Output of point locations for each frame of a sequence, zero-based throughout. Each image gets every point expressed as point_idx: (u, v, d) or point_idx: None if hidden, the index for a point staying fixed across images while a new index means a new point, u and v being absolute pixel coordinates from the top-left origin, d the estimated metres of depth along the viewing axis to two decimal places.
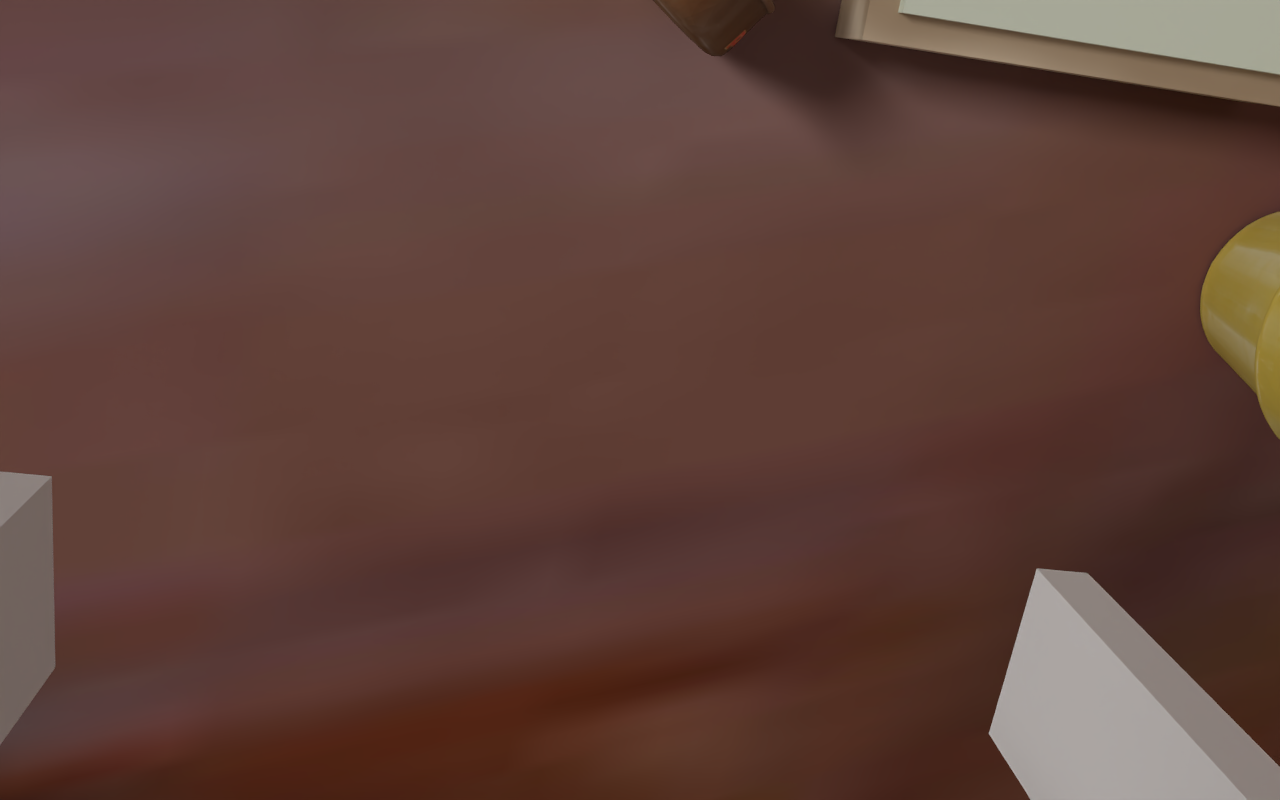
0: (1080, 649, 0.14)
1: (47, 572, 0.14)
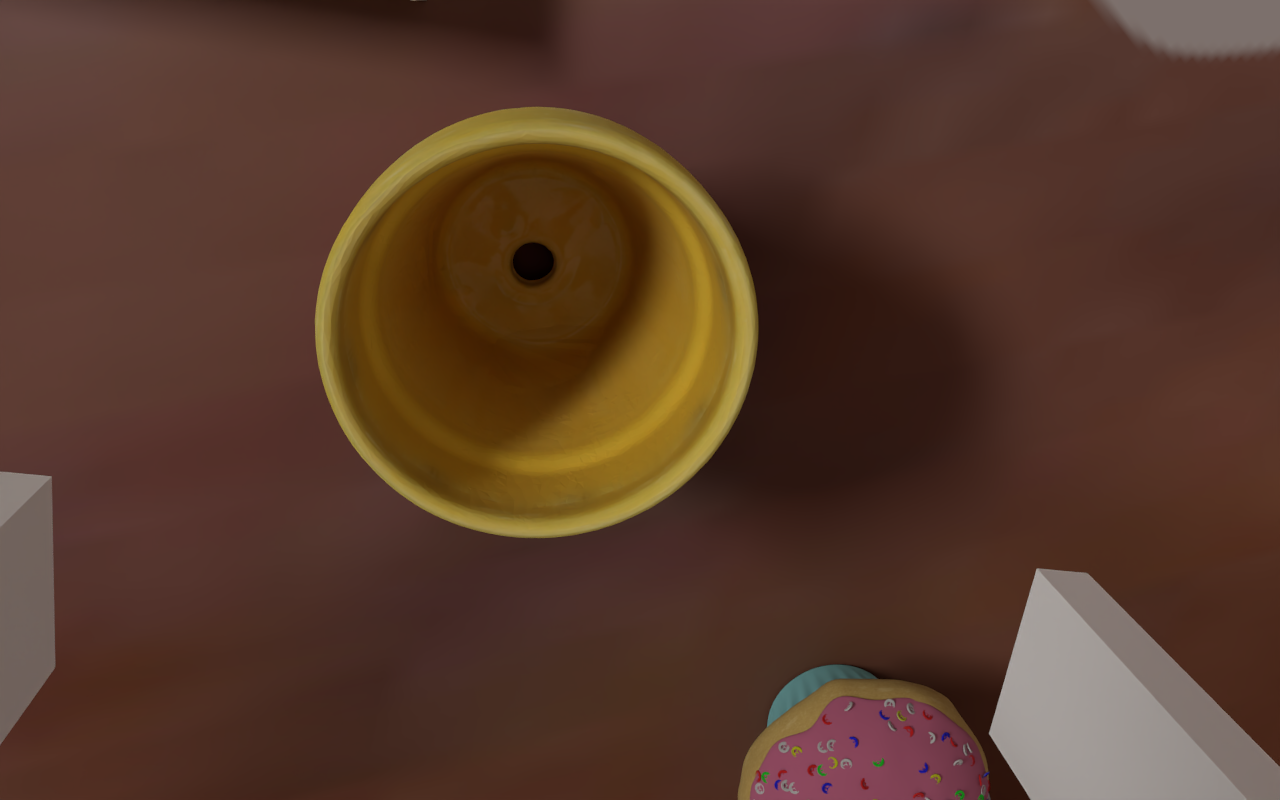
0: (1080, 650, 0.14)
1: (47, 572, 0.14)
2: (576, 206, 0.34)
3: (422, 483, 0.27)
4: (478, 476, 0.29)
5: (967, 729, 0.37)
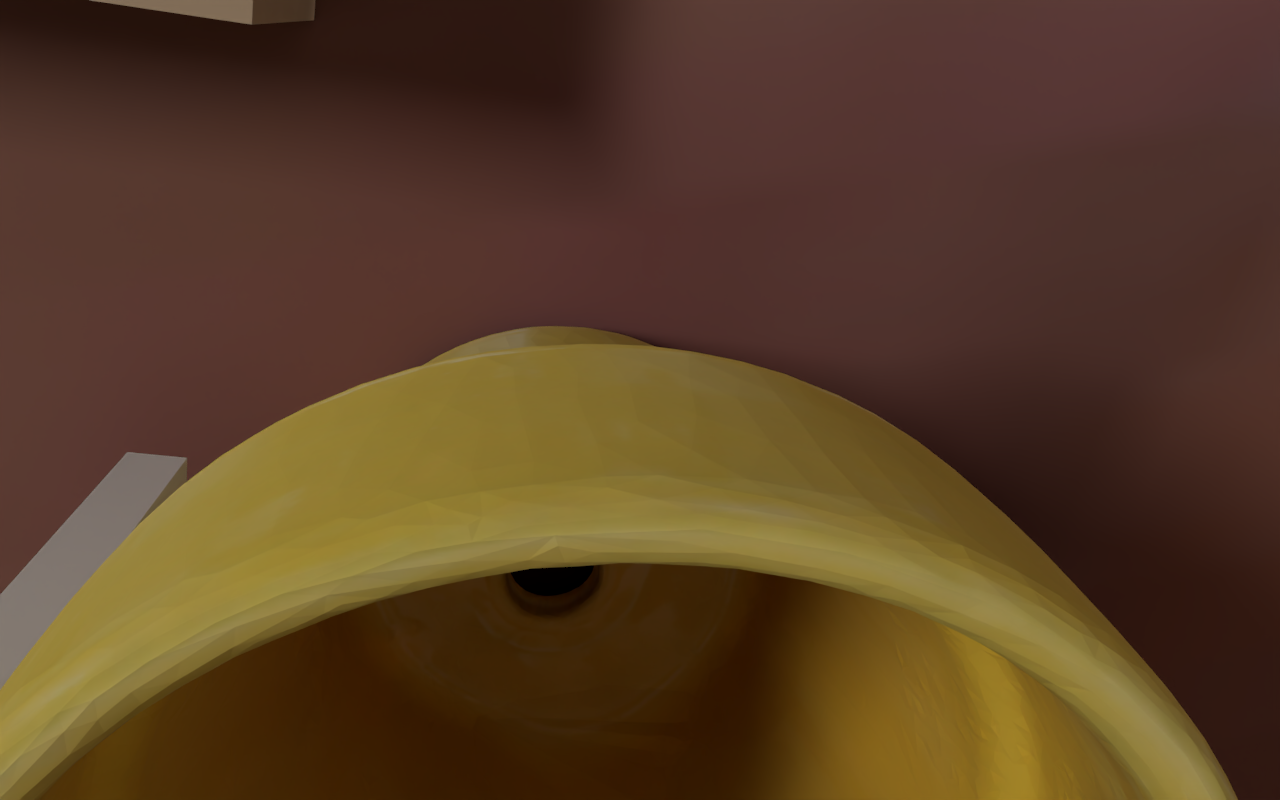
0: None
1: None
2: None
3: None
4: None
5: None
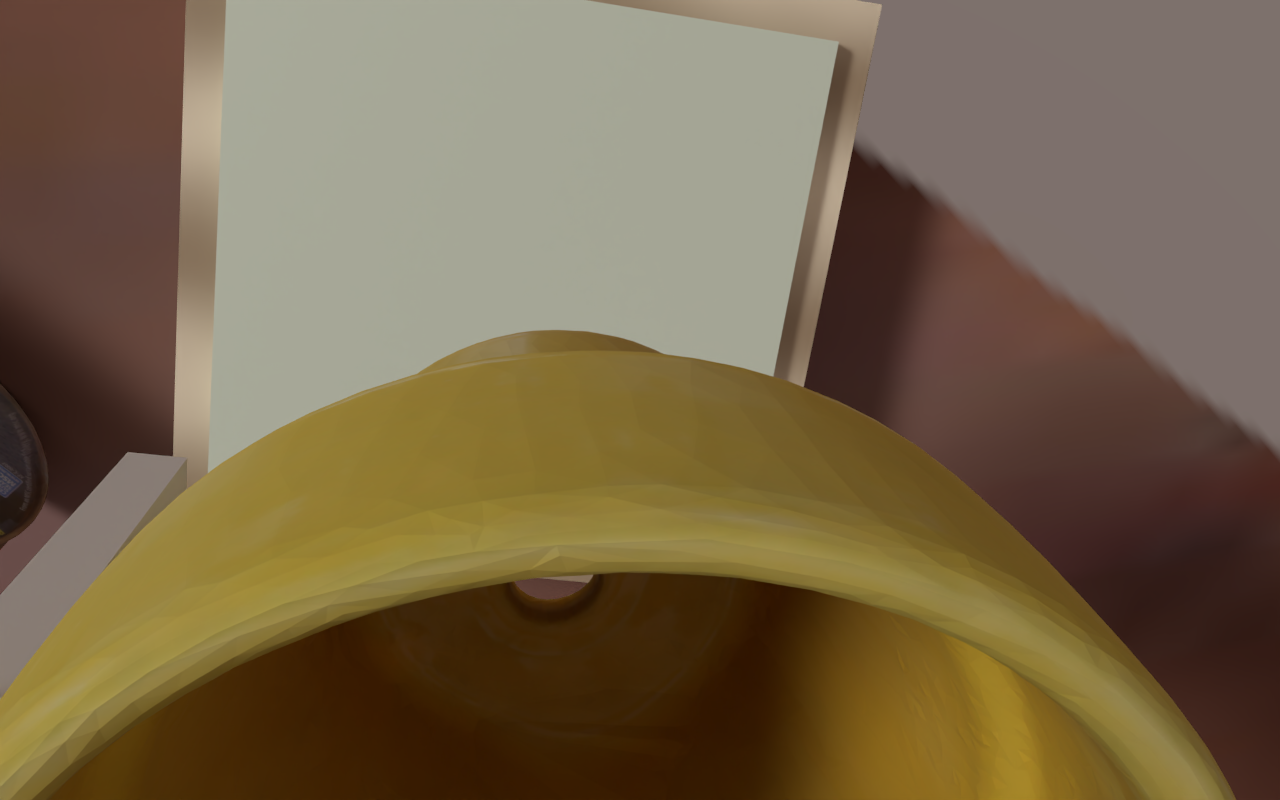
0: None
1: None
2: None
3: None
4: None
5: None
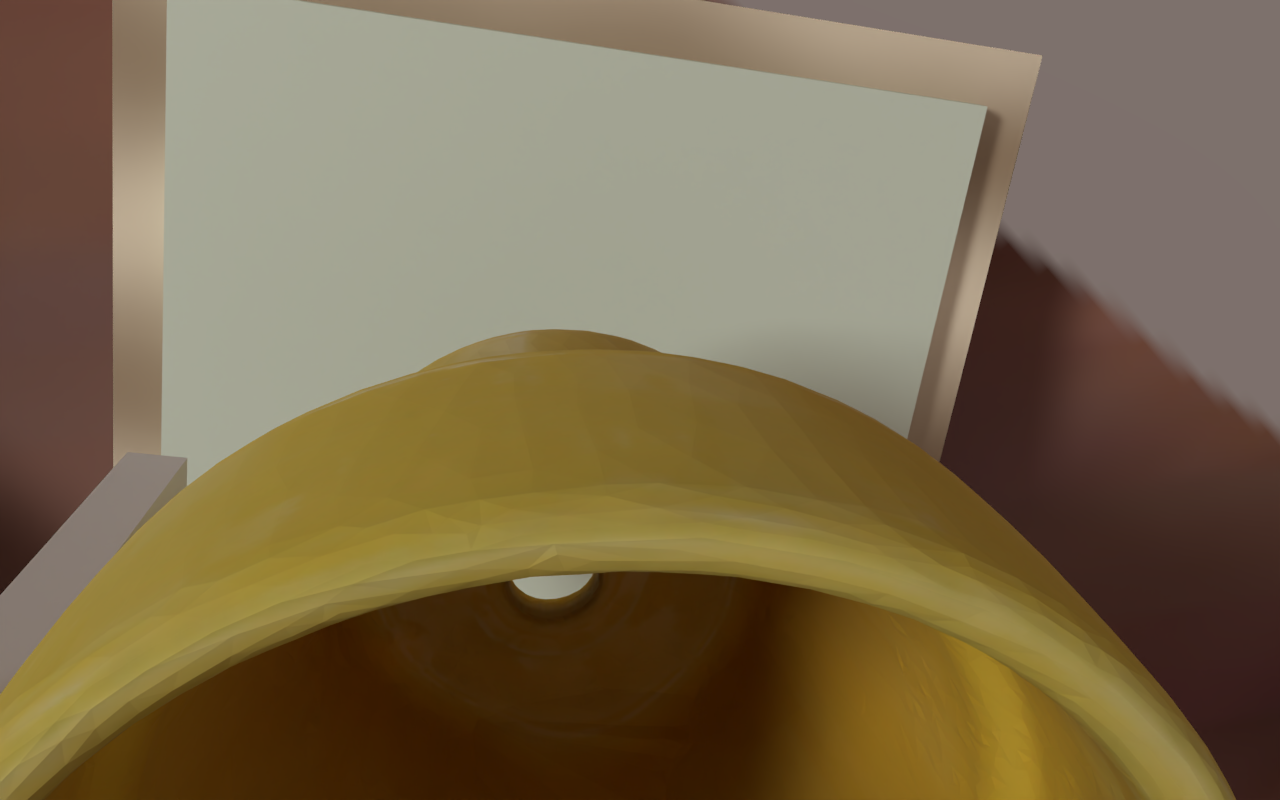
0: None
1: None
2: None
3: None
4: None
5: None
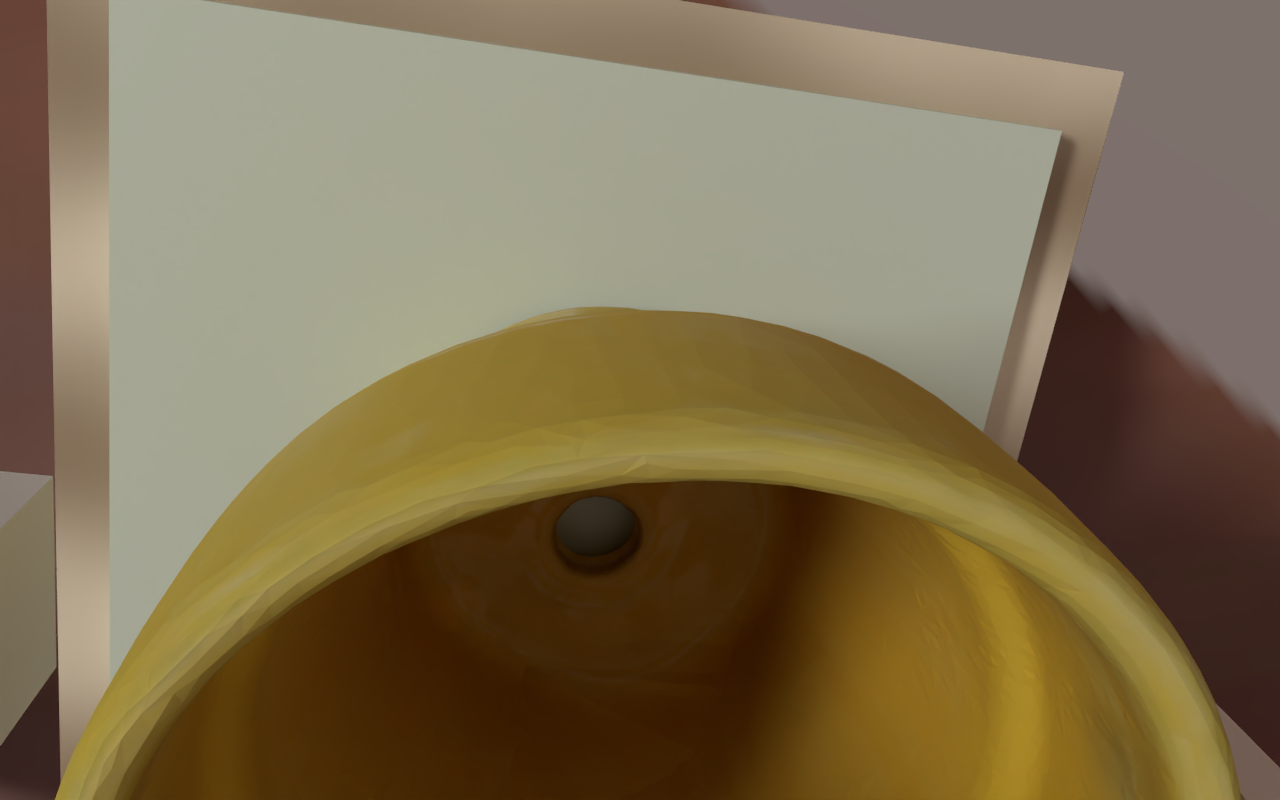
0: None
1: (48, 572, 0.14)
2: None
3: None
4: None
5: None
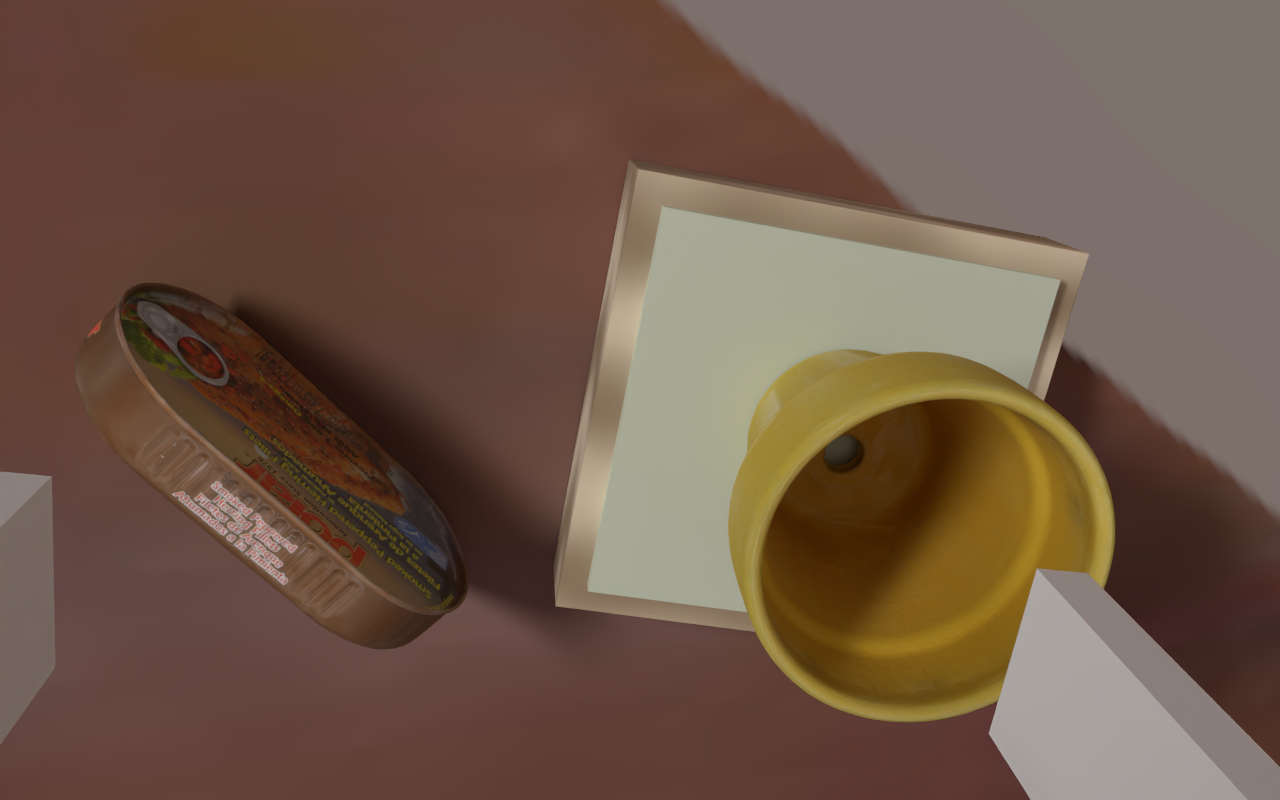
0: (1079, 649, 0.14)
1: (47, 572, 0.14)
2: None
3: (810, 672, 0.32)
4: (837, 659, 0.33)
5: None
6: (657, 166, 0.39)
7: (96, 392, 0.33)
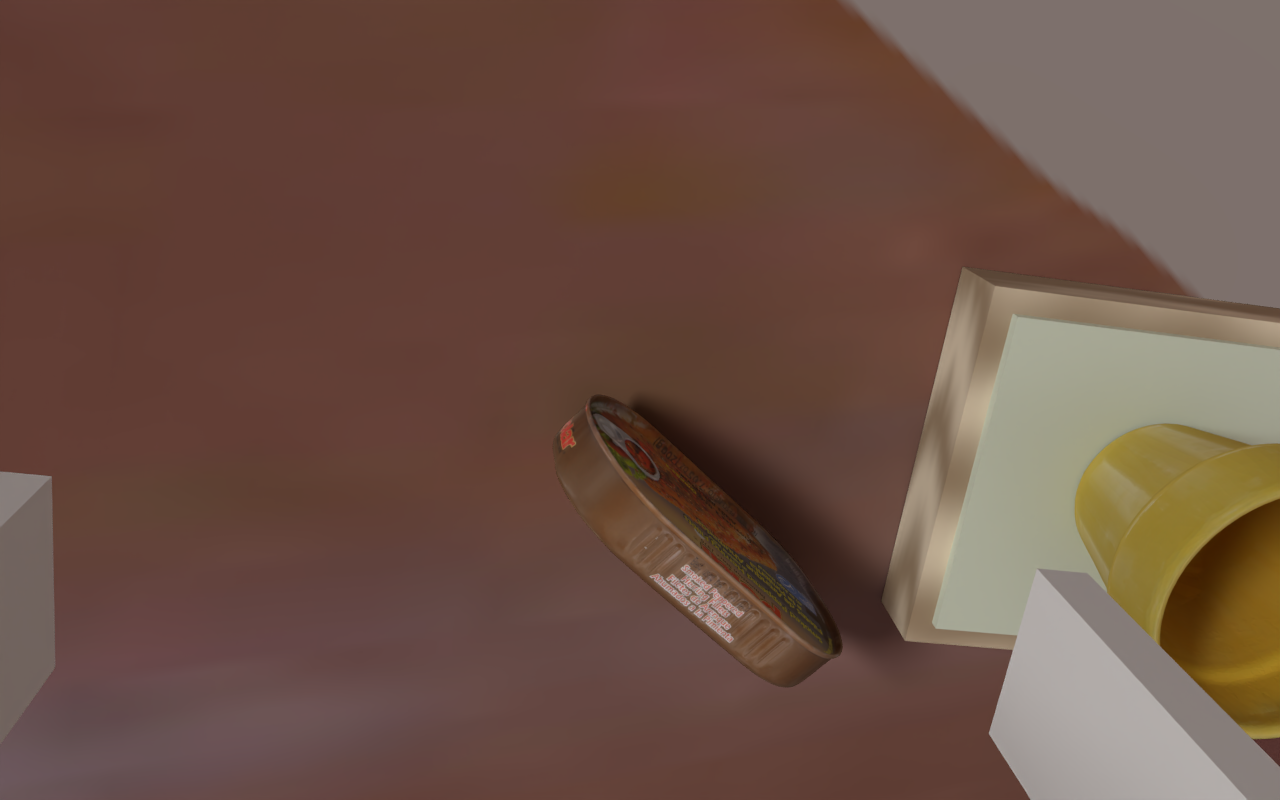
0: (1079, 650, 0.14)
1: (47, 572, 0.14)
2: None
3: None
4: None
5: None
6: (992, 274, 0.47)
7: (588, 498, 0.41)
